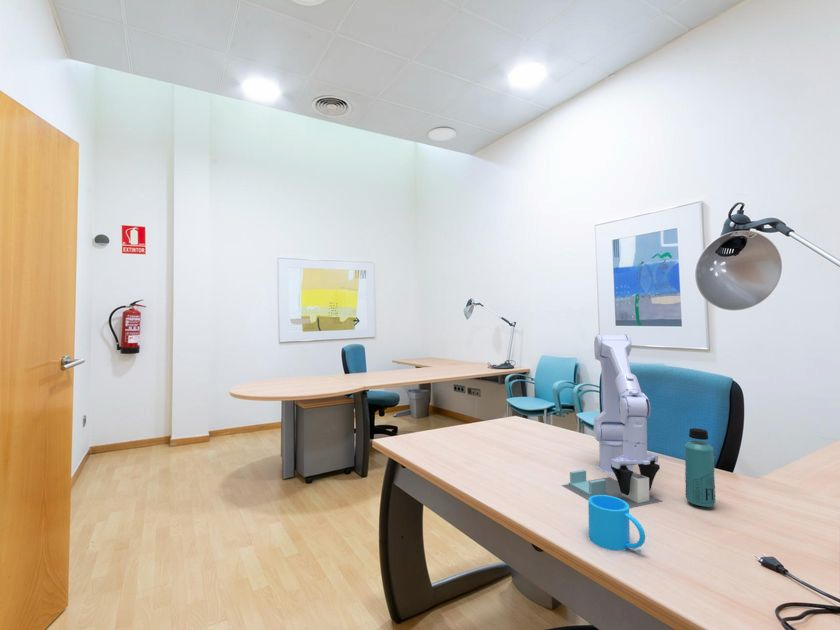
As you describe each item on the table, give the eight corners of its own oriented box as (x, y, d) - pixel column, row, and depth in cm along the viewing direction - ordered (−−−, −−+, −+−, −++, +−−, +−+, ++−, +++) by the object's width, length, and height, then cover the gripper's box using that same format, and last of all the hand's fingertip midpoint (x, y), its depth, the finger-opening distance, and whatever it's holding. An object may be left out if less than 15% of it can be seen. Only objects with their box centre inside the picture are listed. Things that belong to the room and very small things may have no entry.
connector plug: (633, 493, 112) (633, 471, 112) (649, 500, 107) (648, 477, 107) (622, 495, 110) (622, 473, 111) (638, 503, 106) (637, 479, 106)
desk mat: (609, 478, 124) (609, 477, 124) (662, 503, 107) (662, 501, 107) (561, 487, 117) (561, 485, 118) (609, 514, 101) (609, 512, 101)
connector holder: (585, 482, 120) (585, 469, 120) (607, 493, 112) (607, 479, 112) (568, 485, 117) (568, 472, 118) (590, 497, 109) (590, 482, 110)
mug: (581, 537, 90) (580, 500, 90) (602, 527, 94) (602, 492, 95) (634, 564, 80) (633, 522, 80) (655, 551, 84) (655, 512, 84)
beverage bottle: (707, 515, 100) (705, 434, 100) (679, 504, 106) (678, 428, 106) (721, 509, 103) (719, 430, 103) (693, 499, 109) (692, 425, 109)
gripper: (626, 447, 103) (627, 501, 103) (668, 442, 108) (668, 493, 108) (605, 440, 110) (605, 491, 109) (645, 435, 114) (645, 483, 114)
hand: (635, 491), depth 109 cm, fingers open, 7 cm apart
